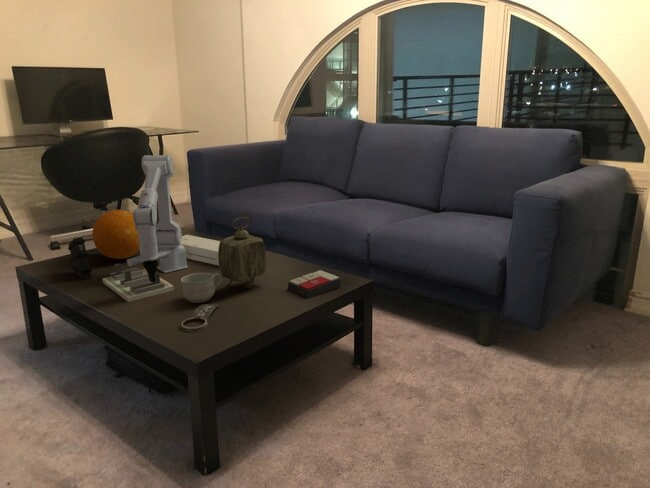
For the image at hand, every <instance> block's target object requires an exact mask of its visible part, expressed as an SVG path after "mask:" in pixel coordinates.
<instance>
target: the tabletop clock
mask: <svg viewBox="0 0 650 488" xmlns="http://www.w3.org/2000/svg"><path fill="white" fill-rule="evenodd" d="M244 219H245V220H247V224H246V225H244V226H243V224H241V225H239V227H235V223H236V222H237V221H238V220H244ZM231 225H232V228H233V229H234V230H236V231H235V232H234V235H230V236H228V237H226V238H225V237H224V238H223V239H222V240H219V241H220V244H219V249H218V261H219V267H218V268H219V272H220V274H221V276H222V278H223V277H224V278H225V279H228V280H229V282H228V283H227V284H225V288H226V289H227V290H229V289H231V284H232V283H233V282H237V283H238V282H239V283H241V282H245V281H246V288H247V289H251V287H252V284H250V281H251V282H254V281H255V280H256V279H255V278H258V277H260V276H262V275H263V274H264V273H266V268H267V252H266V245H265V243H264V241H263V238H261V237H259V236H254V235H251V234H249V232H248V231H247V230H246V228H248V226H249V225H250V219H249V218H248V217H247V216H239V217H237V218H235V219H234V220H233V222H232V224H231Z"/></svg>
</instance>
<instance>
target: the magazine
mask: <svg viewBox="0 0 650 488" xmlns="http://www.w3.org/2000/svg"><path fill="white" fill-rule="evenodd" d="M85 243H86V239H84V238H83V236H81V237H75V238H73V239H72V240H71V241H70V243H69V244H68V248H67V250H68V251H69V252H70V260H71V261H72V267H71V269H72V270H73V273H74V274H75V275H77V276H78V277H79V278H80V279H82V280H83V281H85V280H90V279H91V278H92V268H90V267H91V266H90V262H89V256H90V255H89V253H88V252H87V249H86V245H85Z"/></svg>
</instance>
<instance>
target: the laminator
mask: <svg viewBox="0 0 650 488" xmlns="http://www.w3.org/2000/svg"><path fill="white" fill-rule="evenodd" d="M220 241H221V240H215V239H212V238H211V239H210V238H205V237H202V236H201V237H200V236H196V235H190V234H185V235H182V242H181V244H182V245H183V246H184V248H185V251H186V259H188V260H193V261H196V262H197V261H198V262H201V263H207V264H209V265H213V266H219V261H218V249H219V244H220Z"/></svg>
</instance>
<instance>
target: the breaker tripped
mask: <svg viewBox="0 0 650 488" xmlns="http://www.w3.org/2000/svg"><path fill="white" fill-rule="evenodd" d="M154 278H155V282H154V283H153V285H154V284H158V283H160V278H161V276H160V273H159V272H158V271H156V272H155V276H154Z"/></svg>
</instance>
